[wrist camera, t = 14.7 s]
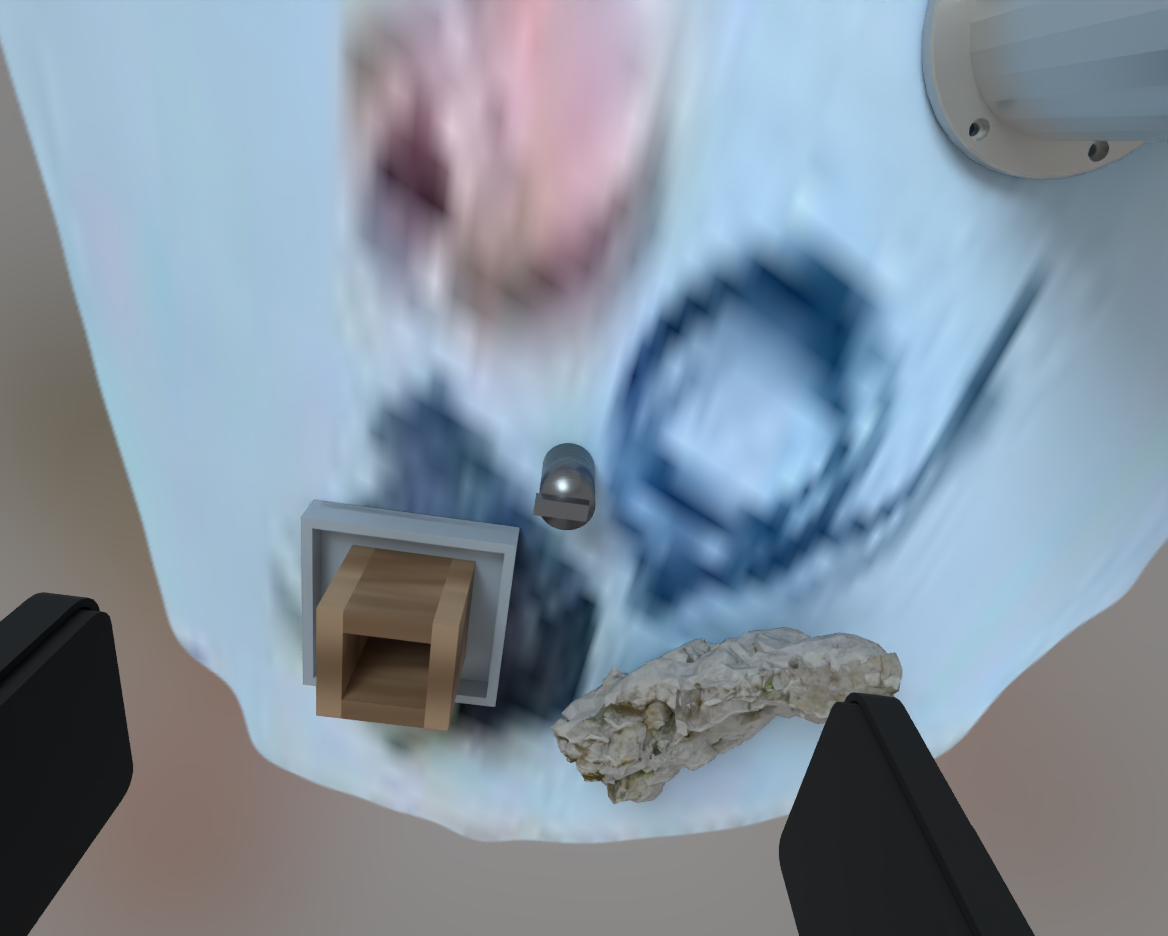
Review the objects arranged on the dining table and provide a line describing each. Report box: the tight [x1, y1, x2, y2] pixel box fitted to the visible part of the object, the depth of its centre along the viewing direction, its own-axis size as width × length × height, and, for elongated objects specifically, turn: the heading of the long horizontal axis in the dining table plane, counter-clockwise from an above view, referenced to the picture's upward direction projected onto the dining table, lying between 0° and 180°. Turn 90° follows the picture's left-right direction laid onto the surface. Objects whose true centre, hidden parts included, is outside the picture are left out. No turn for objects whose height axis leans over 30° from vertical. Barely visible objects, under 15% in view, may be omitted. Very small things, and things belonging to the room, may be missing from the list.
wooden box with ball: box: [316, 545, 476, 731], centre depth 40 cm, size 8×7×6 cm
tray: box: [301, 500, 520, 707], centre depth 42 cm, size 12×12×2 cm
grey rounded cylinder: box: [533, 443, 595, 530], centre depth 37 cm, size 3×3×5 cm
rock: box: [551, 627, 902, 804], centre depth 41 cm, size 19×11×10 cm, turn 112°
